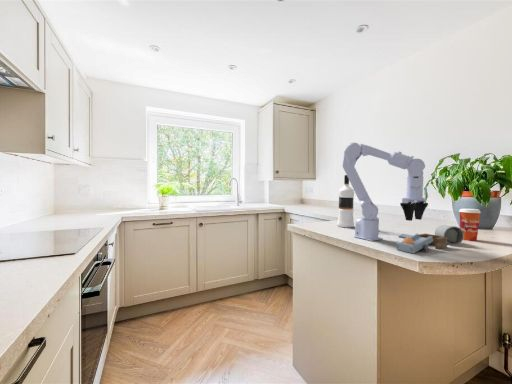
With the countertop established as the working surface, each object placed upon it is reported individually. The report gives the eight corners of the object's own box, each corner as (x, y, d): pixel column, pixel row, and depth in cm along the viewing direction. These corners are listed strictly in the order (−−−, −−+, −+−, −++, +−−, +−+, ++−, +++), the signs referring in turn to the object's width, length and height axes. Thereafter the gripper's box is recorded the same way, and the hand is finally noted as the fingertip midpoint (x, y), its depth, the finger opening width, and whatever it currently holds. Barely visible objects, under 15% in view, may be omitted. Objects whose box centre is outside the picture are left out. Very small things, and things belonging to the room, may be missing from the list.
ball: (401, 247, 92) (400, 237, 91) (406, 244, 93) (405, 235, 93) (411, 249, 89) (410, 239, 88) (416, 246, 90) (415, 237, 90)
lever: (383, 246, 97) (382, 239, 97) (402, 235, 104) (402, 229, 103) (414, 254, 87) (413, 246, 87) (433, 241, 94) (433, 234, 93)
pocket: (415, 244, 101) (416, 235, 101) (424, 242, 104) (425, 233, 104) (438, 249, 94) (438, 238, 94) (446, 247, 97) (447, 237, 97)
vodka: (351, 228, 136) (353, 174, 135) (335, 226, 141) (336, 174, 140) (355, 226, 143) (357, 175, 142) (339, 224, 149) (340, 175, 148)
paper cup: (460, 240, 110) (461, 209, 110) (455, 237, 117) (456, 207, 116) (482, 242, 106) (484, 210, 106) (477, 239, 113) (478, 208, 113)
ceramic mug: (450, 240, 109) (450, 223, 109) (464, 245, 101) (464, 226, 100) (425, 240, 110) (425, 223, 110) (436, 244, 102) (436, 226, 102)
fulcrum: (402, 247, 96) (402, 240, 96) (404, 246, 97) (405, 240, 97) (425, 252, 89) (426, 245, 89) (428, 251, 90) (428, 244, 90)
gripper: (415, 187, 95) (414, 222, 96) (434, 187, 103) (433, 220, 103) (397, 187, 102) (396, 219, 102) (416, 187, 109) (415, 217, 109)
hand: (413, 219), depth 103 cm, fingers open, 7 cm apart
